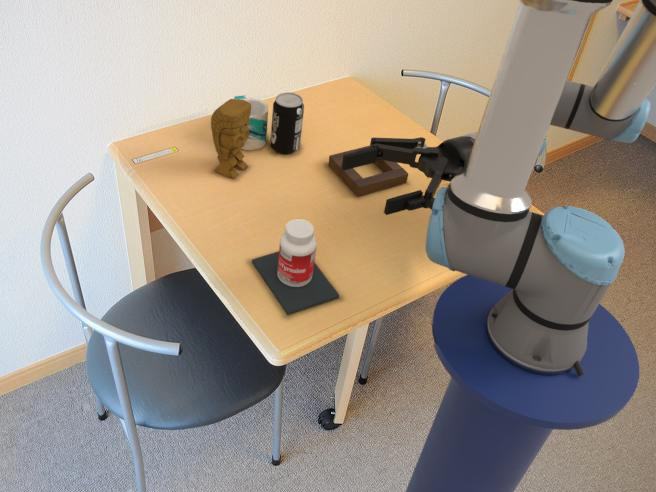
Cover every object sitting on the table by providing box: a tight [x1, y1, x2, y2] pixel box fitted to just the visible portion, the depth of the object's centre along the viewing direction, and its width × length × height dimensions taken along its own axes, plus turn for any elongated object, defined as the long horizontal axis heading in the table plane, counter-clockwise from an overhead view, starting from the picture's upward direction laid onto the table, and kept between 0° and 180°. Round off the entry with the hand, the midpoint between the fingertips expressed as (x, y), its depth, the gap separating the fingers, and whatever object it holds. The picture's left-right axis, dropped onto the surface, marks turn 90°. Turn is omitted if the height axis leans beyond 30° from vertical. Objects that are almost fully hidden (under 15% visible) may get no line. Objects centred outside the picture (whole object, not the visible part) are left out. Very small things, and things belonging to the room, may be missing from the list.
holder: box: [327, 145, 409, 197], centre depth 138 cm, size 12×12×2 cm
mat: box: [251, 251, 340, 316], centre depth 115 cm, size 14×10×1 cm
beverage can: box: [270, 91, 305, 156], centre depth 141 cm, size 7×7×12 cm
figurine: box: [210, 98, 251, 180], centre depth 134 cm, size 7×7×15 cm
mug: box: [233, 94, 269, 151], centre depth 145 cm, size 8×12×8 cm
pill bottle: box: [277, 218, 318, 287], centre depth 111 cm, size 6×6×11 cm
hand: (363, 184), depth 108 cm, fingers open, 13 cm apart
